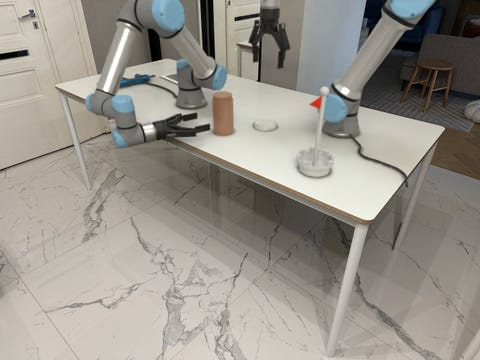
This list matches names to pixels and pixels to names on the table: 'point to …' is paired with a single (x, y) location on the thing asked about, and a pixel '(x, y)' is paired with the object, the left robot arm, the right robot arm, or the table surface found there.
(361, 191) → the table surface
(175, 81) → the tablet
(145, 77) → the submachine gun
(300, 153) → the flag stand
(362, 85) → the right robot arm
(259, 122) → the lid
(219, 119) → the jar
